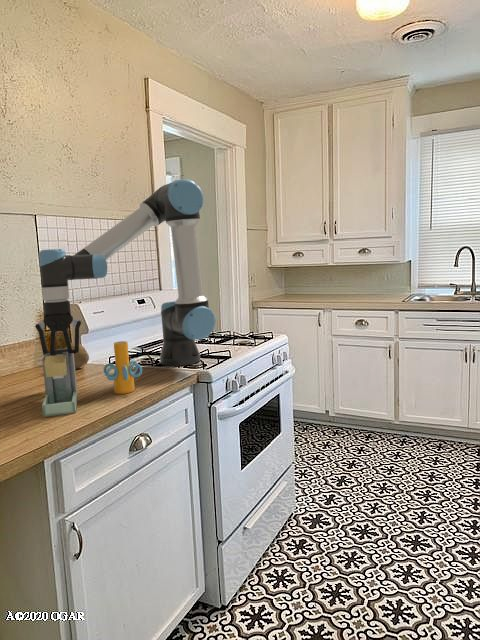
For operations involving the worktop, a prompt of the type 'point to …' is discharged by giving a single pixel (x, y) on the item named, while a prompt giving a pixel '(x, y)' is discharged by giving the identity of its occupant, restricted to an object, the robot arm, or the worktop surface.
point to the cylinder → (122, 369)
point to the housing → (61, 382)
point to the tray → (59, 407)
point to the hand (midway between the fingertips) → (63, 376)
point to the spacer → (55, 365)
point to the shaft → (58, 352)
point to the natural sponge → (79, 356)
